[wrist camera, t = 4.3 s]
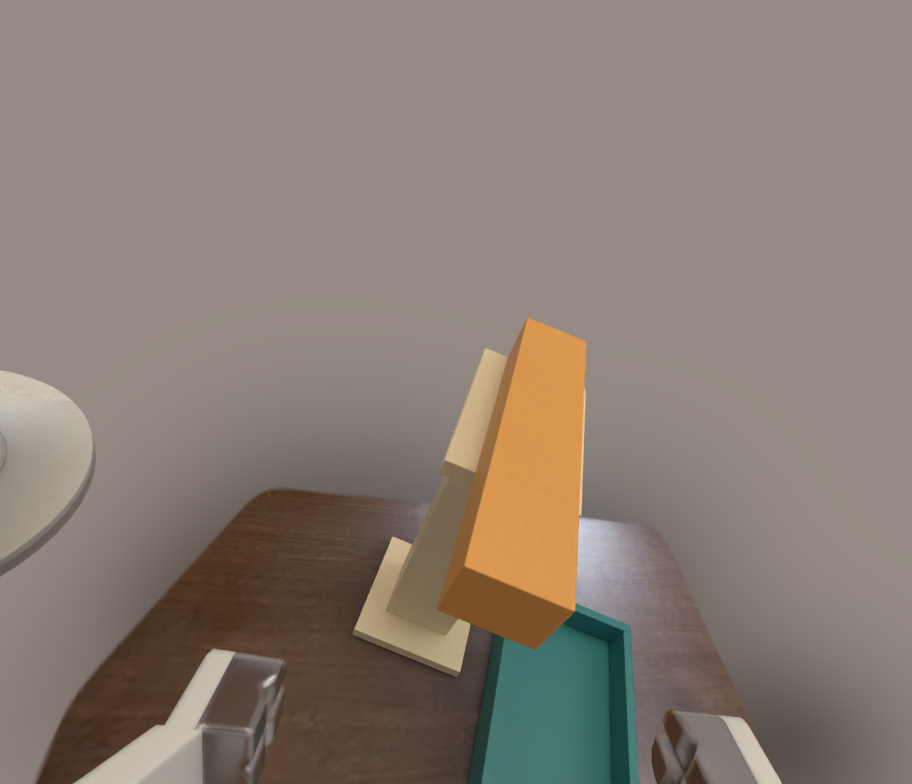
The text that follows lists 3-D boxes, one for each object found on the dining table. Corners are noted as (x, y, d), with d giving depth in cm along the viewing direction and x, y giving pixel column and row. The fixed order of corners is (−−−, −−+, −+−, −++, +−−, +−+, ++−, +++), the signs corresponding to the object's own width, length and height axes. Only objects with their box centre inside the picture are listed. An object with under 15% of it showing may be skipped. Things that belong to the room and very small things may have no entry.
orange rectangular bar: (535, 651, 20) (575, 611, 18) (435, 610, 20) (463, 565, 18) (563, 380, 35) (586, 341, 33) (508, 357, 35) (527, 316, 33)
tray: (622, 1067, 29) (655, 1076, 27) (430, 990, 29) (448, 992, 27) (612, 640, 50) (630, 625, 48) (500, 594, 50) (513, 577, 48)
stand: (453, 689, 42) (598, 523, 26) (347, 645, 42) (427, 452, 26) (480, 570, 52) (598, 394, 36) (393, 534, 52) (472, 342, 35)
